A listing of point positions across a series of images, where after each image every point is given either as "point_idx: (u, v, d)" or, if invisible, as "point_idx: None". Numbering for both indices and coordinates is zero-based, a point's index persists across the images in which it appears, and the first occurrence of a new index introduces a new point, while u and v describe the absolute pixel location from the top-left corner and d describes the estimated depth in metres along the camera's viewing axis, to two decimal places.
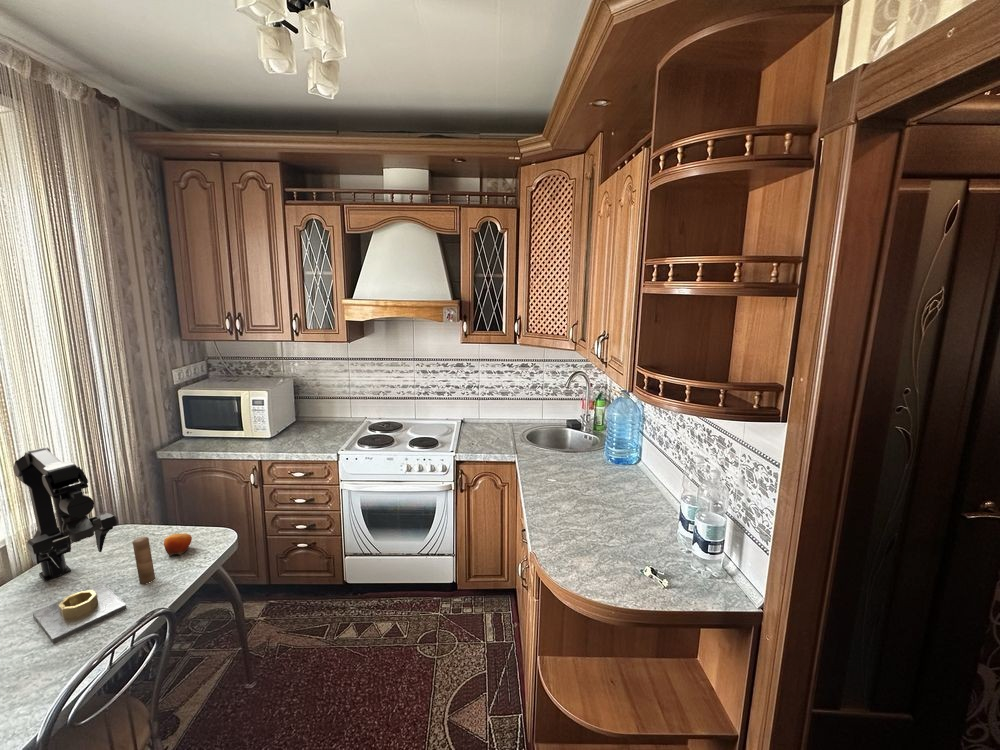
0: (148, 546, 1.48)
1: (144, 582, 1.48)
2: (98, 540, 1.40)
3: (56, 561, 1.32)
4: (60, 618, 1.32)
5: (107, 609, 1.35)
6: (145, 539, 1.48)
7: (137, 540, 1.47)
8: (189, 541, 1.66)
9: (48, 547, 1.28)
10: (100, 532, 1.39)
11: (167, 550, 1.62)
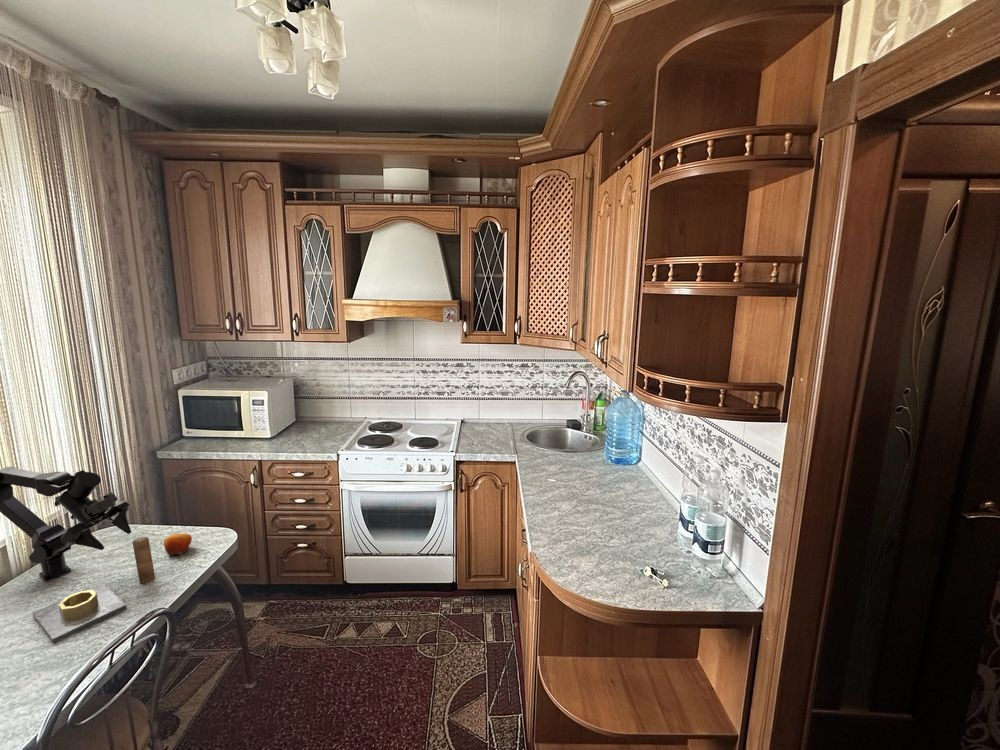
0: (148, 546, 1.48)
1: (144, 582, 1.48)
2: (122, 525, 1.53)
3: (97, 542, 1.43)
4: (60, 618, 1.32)
5: (107, 609, 1.35)
6: (145, 539, 1.48)
7: (137, 540, 1.47)
8: (189, 541, 1.66)
9: (82, 527, 1.41)
10: (119, 514, 1.53)
11: (167, 550, 1.62)
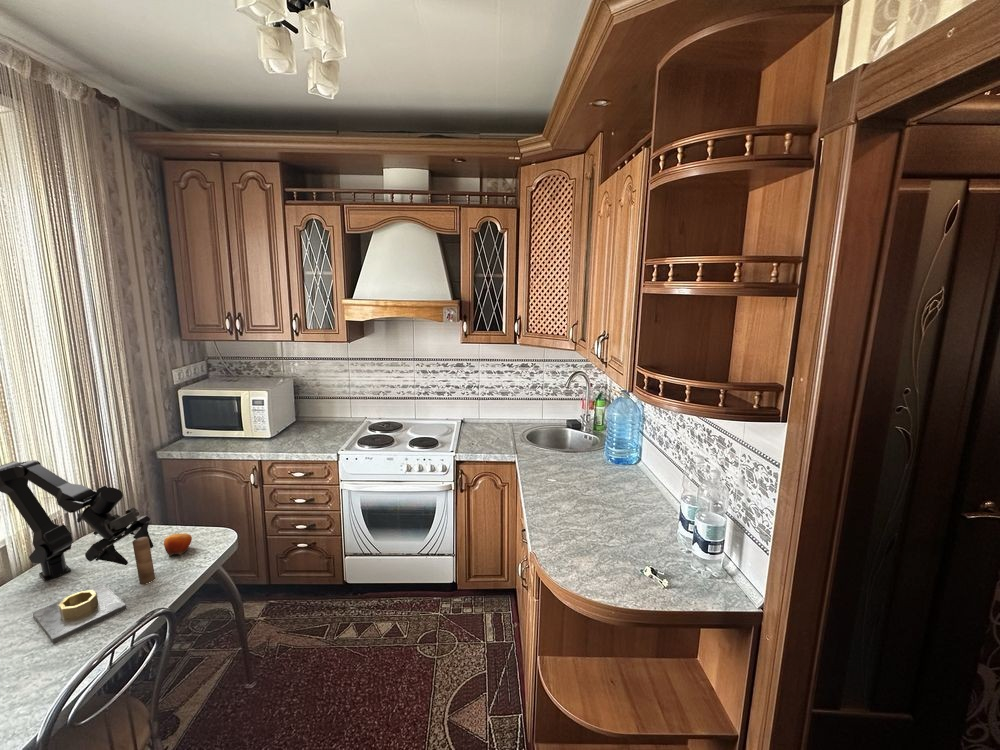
0: (148, 546, 1.48)
1: (144, 582, 1.48)
2: None
3: (121, 557, 1.43)
4: (60, 618, 1.32)
5: (107, 609, 1.35)
6: (145, 539, 1.48)
7: (137, 540, 1.47)
8: (189, 541, 1.66)
9: (106, 543, 1.41)
10: (141, 529, 1.53)
11: (167, 550, 1.62)
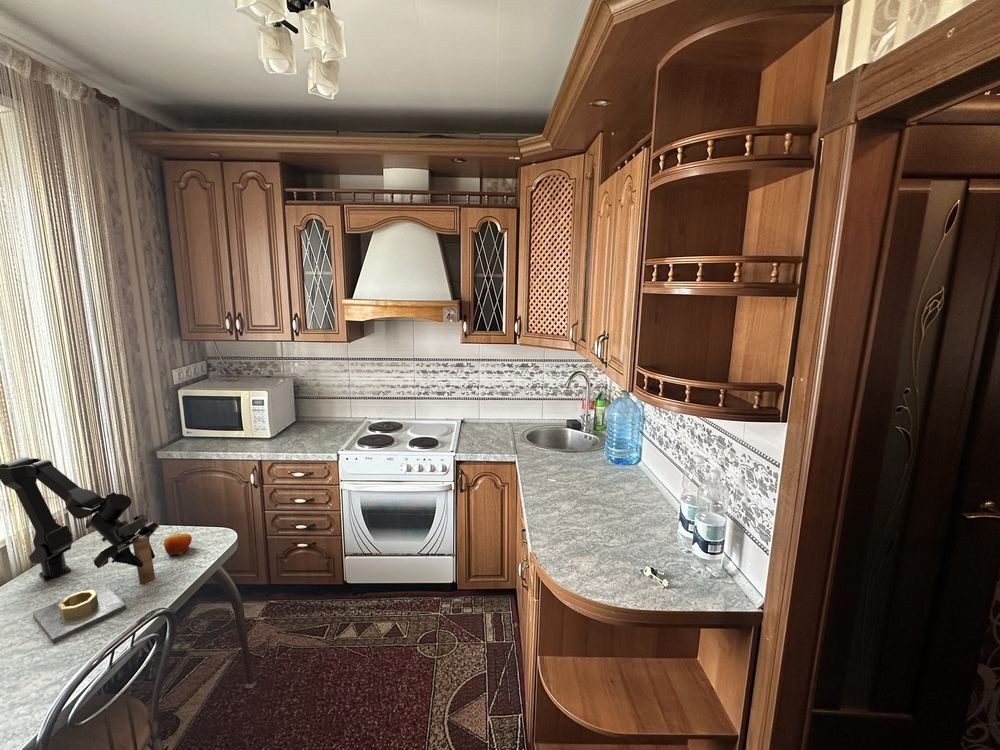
0: (148, 546, 1.48)
1: (144, 582, 1.48)
2: None
3: (136, 559, 1.46)
4: (60, 618, 1.32)
5: (107, 609, 1.35)
6: (145, 539, 1.48)
7: (137, 540, 1.47)
8: (189, 541, 1.66)
9: (115, 550, 1.41)
10: None
11: (167, 550, 1.62)
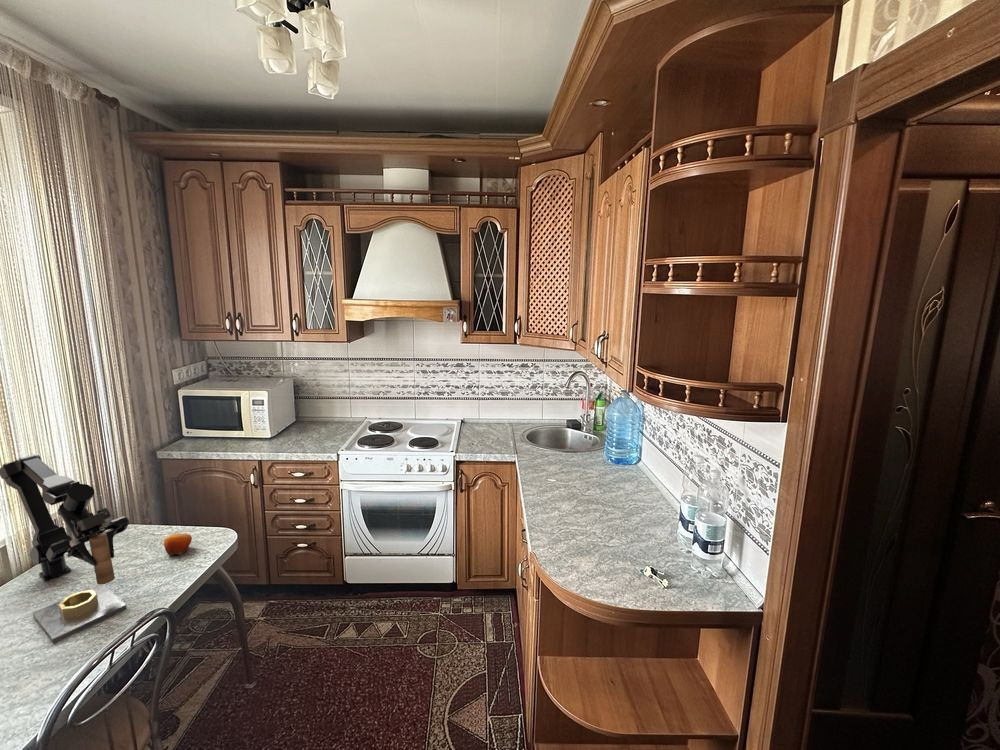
0: (104, 544, 1.37)
1: (99, 582, 1.38)
2: None
3: (89, 557, 1.35)
4: (60, 618, 1.32)
5: (107, 609, 1.35)
6: (102, 536, 1.37)
7: (94, 537, 1.37)
8: (189, 541, 1.66)
9: (65, 545, 1.32)
10: None
11: (167, 550, 1.62)
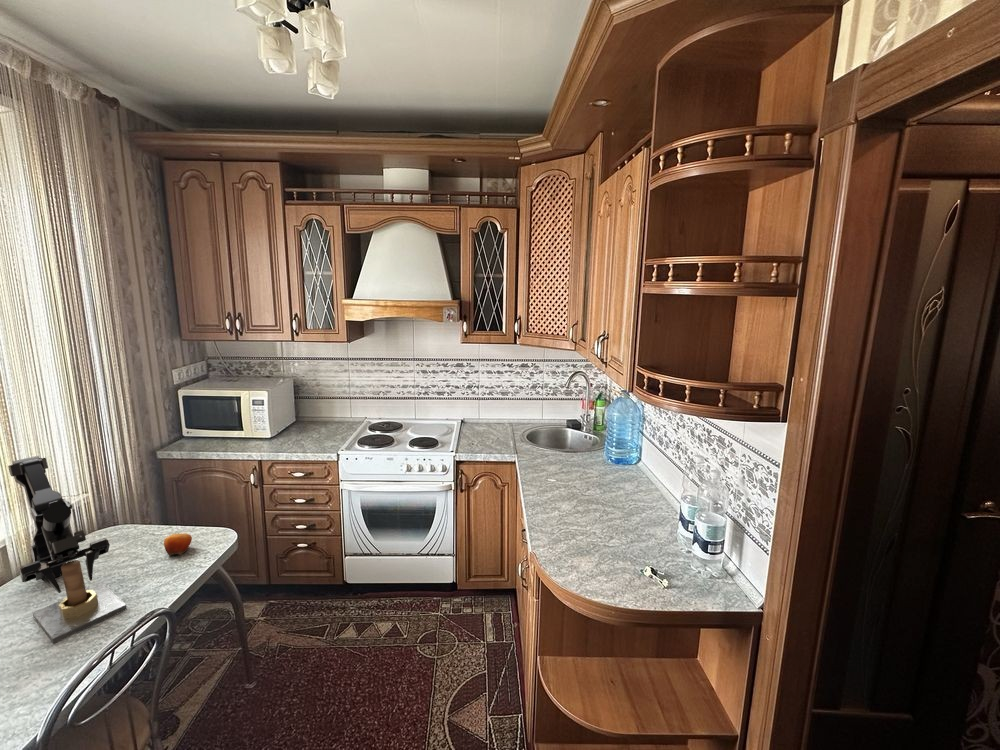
0: (75, 573, 1.32)
1: None
2: (87, 569, 1.37)
3: (54, 583, 1.30)
4: (60, 618, 1.32)
5: (107, 609, 1.35)
6: (74, 565, 1.32)
7: (67, 564, 1.33)
8: (189, 541, 1.66)
9: (36, 567, 1.29)
10: (86, 557, 1.37)
11: (167, 550, 1.62)
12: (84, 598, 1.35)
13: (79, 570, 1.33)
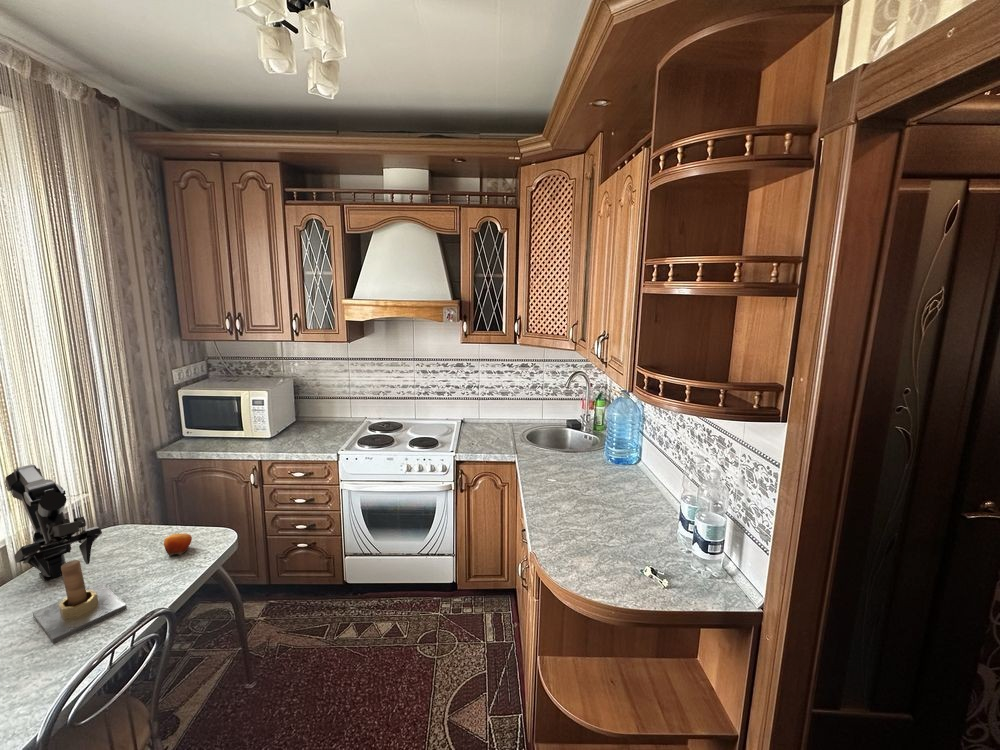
0: (75, 573, 1.32)
1: None
2: (84, 553, 1.45)
3: (45, 567, 1.35)
4: (60, 618, 1.32)
5: (107, 609, 1.35)
6: (74, 564, 1.32)
7: (67, 564, 1.33)
8: (189, 541, 1.66)
9: (36, 548, 1.34)
10: (85, 541, 1.45)
11: (167, 550, 1.62)
12: (84, 598, 1.35)
13: (79, 570, 1.33)
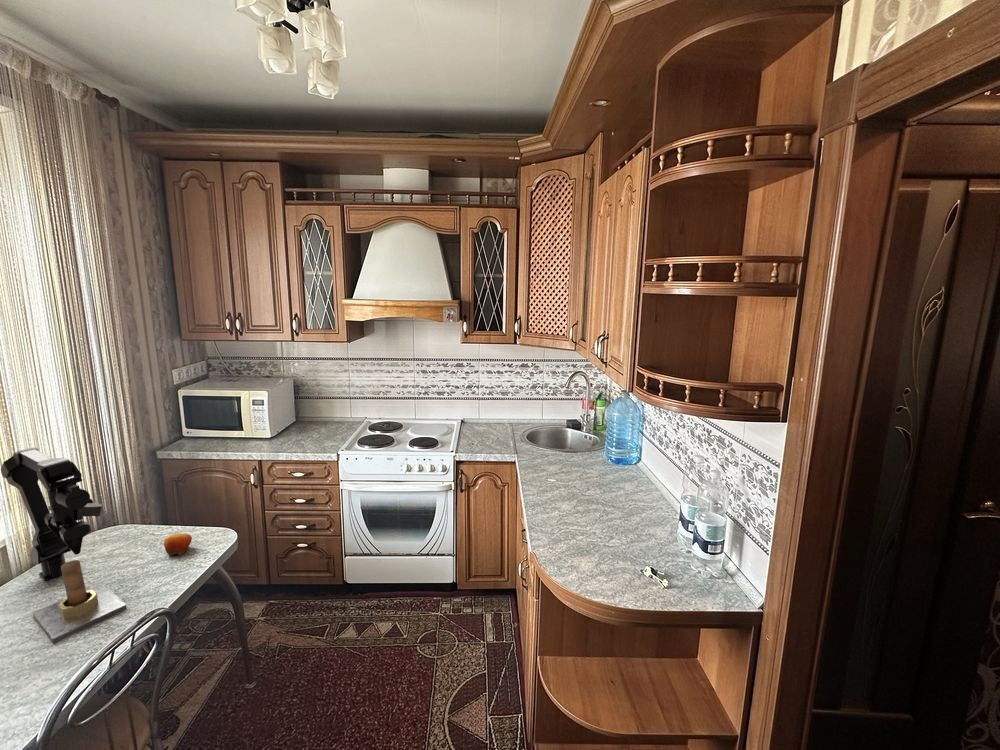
0: (75, 573, 1.32)
1: None
2: None
3: None
4: (60, 618, 1.32)
5: (107, 609, 1.35)
6: (73, 564, 1.32)
7: (67, 564, 1.33)
8: (189, 541, 1.66)
9: None
10: None
11: (167, 550, 1.62)
12: (84, 598, 1.35)
13: (79, 570, 1.33)
